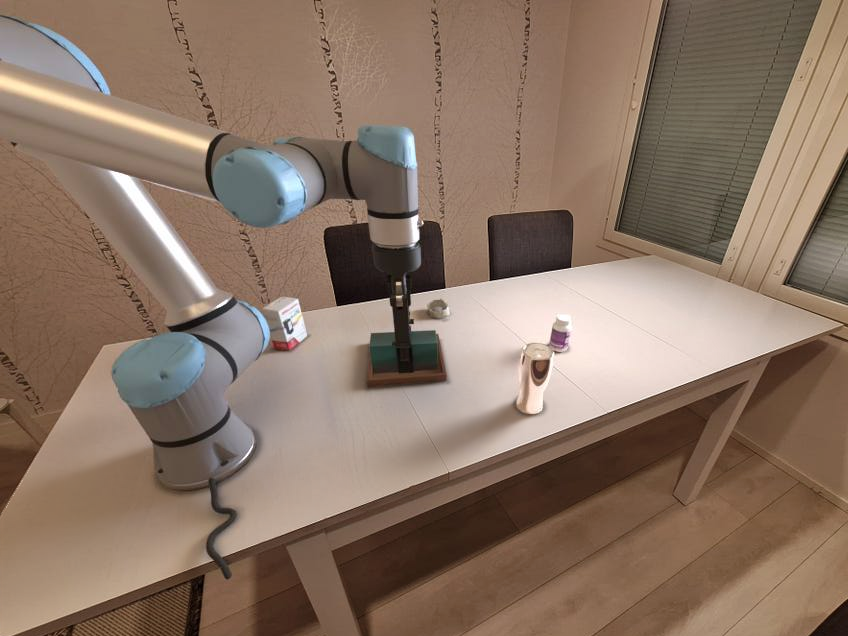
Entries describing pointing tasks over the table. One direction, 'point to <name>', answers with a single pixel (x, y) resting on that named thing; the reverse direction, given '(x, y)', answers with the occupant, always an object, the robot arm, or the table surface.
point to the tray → (408, 374)
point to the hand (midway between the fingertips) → (406, 363)
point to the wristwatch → (438, 303)
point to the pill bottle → (560, 333)
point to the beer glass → (534, 376)
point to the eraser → (387, 354)
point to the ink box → (285, 323)
